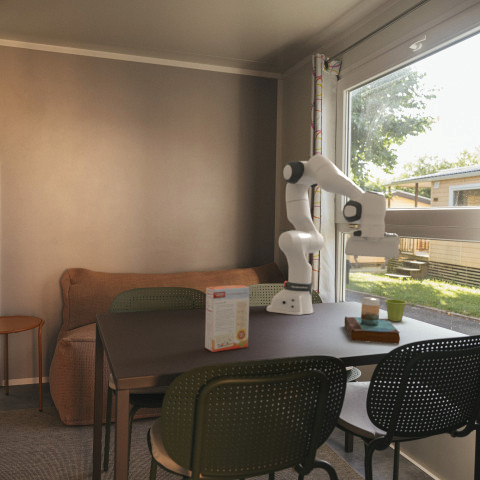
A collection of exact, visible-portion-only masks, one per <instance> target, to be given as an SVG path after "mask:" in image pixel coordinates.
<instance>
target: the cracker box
mask: <svg viewBox="0 0 480 480" xmlns="http://www.w3.org/2000/svg"><path fill="white" fill-rule="evenodd" d="M205 289H206V290H205V332H204V334H205V335H204V348H205V349H207V350H208V351H210V352H212V353H215V352H223V351H229V350H230V351H231V350H237V349H243V348H249V323H250V320H249V318H250V291H251V290H250V287H249V286H247V285H244V284H238V285H236V284H231V285H218V286H207V287H205Z"/></svg>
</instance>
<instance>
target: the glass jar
mask: <svg viewBox="0 0 480 480" xmlns="http://www.w3.org/2000/svg"><path fill="white" fill-rule="evenodd" d="M380 301H381V300H380V298H378V297H370V296H369V297H368V296H366V297H365V296H364V297H362V299H361V313H360V317H361V324H363V325H368V326H378V322H379V319H380V308H381V307H380V306H381V305H380Z"/></svg>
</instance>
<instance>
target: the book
mask: <svg viewBox="0 0 480 480" xmlns="http://www.w3.org/2000/svg"><path fill="white" fill-rule="evenodd" d="M344 329H345V330H347V331H346V332H348V333H347V334H348V337H349V339H350V341H351V342H352V340H353V341H354V342H365V341H370V342H369V343H379V342H382V343H381V344H394V343H396V344H397V345H399V344H400V341H401V336H400V332H399V330H398V329H397V328H396V327H395V326H394V325H393V324H392V322H390V320H388V318H379V322H378V326H368V325H363V324H361V316H360V317H355V316H350V317H349V316H348V317H347V316H344Z"/></svg>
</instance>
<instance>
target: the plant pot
mask: <svg viewBox="0 0 480 480" xmlns="http://www.w3.org/2000/svg"><path fill="white" fill-rule="evenodd" d="M384 302H385V304H386V313H387V319H388V320H389V321H392V322H402V321H403V317H404V311H405V307H406V305H407V301H405V300H402V299H401V300H400V299H385V300H384Z"/></svg>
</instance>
